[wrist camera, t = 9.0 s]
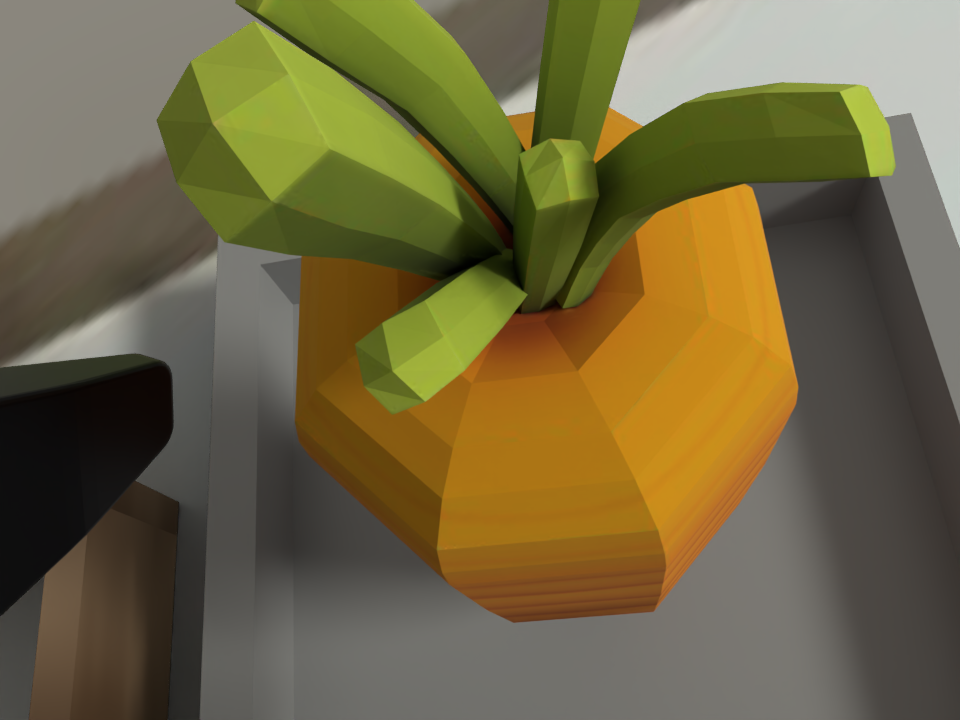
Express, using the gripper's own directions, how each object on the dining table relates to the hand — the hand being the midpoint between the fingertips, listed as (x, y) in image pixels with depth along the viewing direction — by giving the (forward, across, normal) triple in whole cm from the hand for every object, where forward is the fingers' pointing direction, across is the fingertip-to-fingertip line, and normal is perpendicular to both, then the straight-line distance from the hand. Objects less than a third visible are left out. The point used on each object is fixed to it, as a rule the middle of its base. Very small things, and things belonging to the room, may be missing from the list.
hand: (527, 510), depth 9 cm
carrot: (+7, 0, +5) cm, 9 cm away
